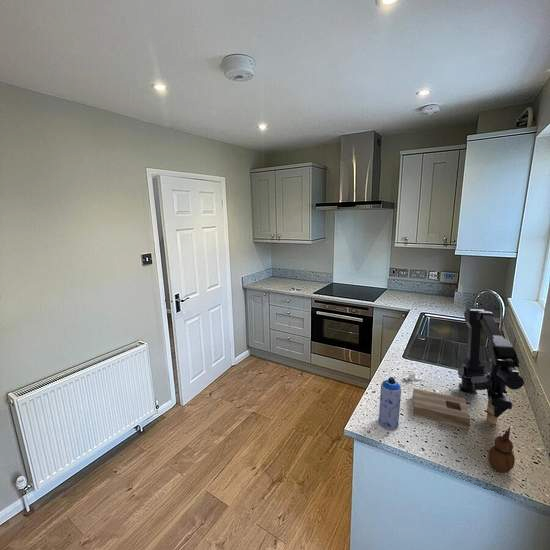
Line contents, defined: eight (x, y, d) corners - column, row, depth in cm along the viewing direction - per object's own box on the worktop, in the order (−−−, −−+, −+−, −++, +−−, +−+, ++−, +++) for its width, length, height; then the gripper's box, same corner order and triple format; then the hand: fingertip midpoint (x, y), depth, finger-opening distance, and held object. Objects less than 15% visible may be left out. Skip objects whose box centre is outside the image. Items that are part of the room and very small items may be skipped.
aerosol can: (400, 431, 114) (405, 385, 110) (379, 429, 116) (383, 383, 112) (396, 417, 122) (399, 374, 118) (376, 416, 123) (379, 372, 119)
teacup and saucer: (422, 378, 151) (423, 371, 150) (421, 386, 144) (422, 379, 143) (403, 374, 155) (404, 367, 154) (402, 382, 148) (403, 374, 147)
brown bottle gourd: (502, 460, 100) (508, 422, 97) (516, 475, 95) (524, 435, 92) (482, 461, 100) (488, 423, 97) (496, 476, 94) (502, 436, 91)
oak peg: (484, 416, 122) (487, 397, 120) (496, 419, 120) (499, 399, 118) (486, 423, 118) (489, 403, 116) (498, 425, 117) (502, 405, 115)
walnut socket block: (412, 396, 136) (413, 388, 135) (463, 408, 127) (464, 398, 127) (412, 415, 123) (413, 406, 122) (469, 429, 115) (470, 419, 114)
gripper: (470, 359, 127) (465, 392, 130) (478, 382, 110) (473, 418, 113) (501, 365, 122) (496, 398, 125) (515, 389, 106) (509, 427, 109)
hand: (493, 409), depth 118 cm, fingers open, 9 cm apart
